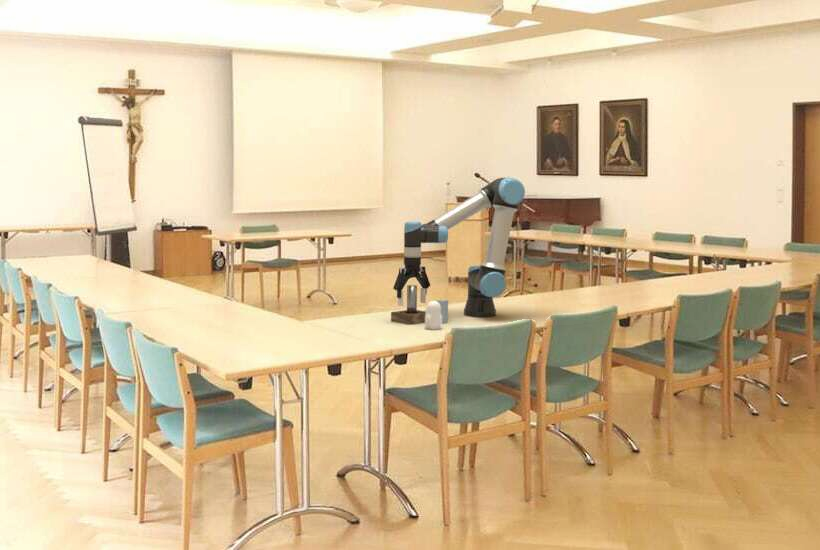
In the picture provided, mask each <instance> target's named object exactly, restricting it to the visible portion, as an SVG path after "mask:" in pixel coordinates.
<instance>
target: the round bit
mask: <svg viewBox="0 0 820 550" xmlns="http://www.w3.org/2000/svg"><path fill="white" fill-rule="evenodd" d="M417 286H418V285H414V284H408V285H407V286H406V310H407V313H411V314H413V313H417V310H418V307H417V305H418V303H417V301H418V287H417Z"/></svg>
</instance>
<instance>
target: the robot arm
mask: <svg viewBox="0 0 820 550" xmlns="http://www.w3.org/2000/svg"><path fill="white" fill-rule="evenodd" d="M525 194H526V191H525V186H524V185H523V183H522V182H521V181H520V180H518V179H517V178H514V177H499V178H497V179H494V180H492V181H491V182H490V183H488V184H486V185H485V186H483V187H482V188H479V190H478V193H476V194H473V195H472V196H471V197H469V198H468V199H466V200H464V201H462V202H461V203H459V204H457V205H455V206H454V207H453V208H451V209H449V210H448V211H446V212H444V213H442V214H440V215H439V216H437V217H435V218H433V219H432V220H430V221H428V222H426V223H423V224H422V222H421V221H411V220H409V221H406V222H405V223H404V228H403V229H404V230H403V235H404V236H403V244H404V245H403V256H404V257H403V265H404V267H402V268H401V267H399V269H398V274H397V277H396V278H395V279H396V280H395V282H394V285H393V288H392V289H393V290H394V291H396V297H397V306H401V307H402V306H403V307H404V291H403V289H404V287H405V286H406V284H407V282H408V281H409V280H410V279H413V278H415V279H416V281H418V284H419V285H420V286H421V287H420V290H419V291H420V298H419V299H420V301H419V302H420V303H422V304H426V301H427V298H426V297H427V293H428V292H427V290H428V289H429V287H431V283H430V280H429V277H428V274H427V272H426V266H422V257H421V255H422V244H444V243H447V241H448V239H449V230H450V229H452V228H453V227H455V226H457V225H459V224H460V223H462V222H464V221H466V220H467V219H469V218H470V217H472V216H474V215H476V214H478V213H479V212H481V211H482V210H484V209H486V208H492V207H493V208H494V213H493V218H492V224H491V229H490V234H489V238H488V244H487V247H486V248H487V249H486V253H485V256H484V257H485V258H484V261H483V262H482V263H480V265H472V266H471V265H470V266H469V267H468V272H467V299H466V303H465V306H464V308H463V315H465V316H469V317H475V318H476V317H478V318H485V317H489V318H490V317H494V316H497V309H496V308H495V307H496V305H495V302H494V299H493V298H495V297H496V298H497V297H499V296H500V295H502V294H503V293H504V292H505V290H506V287H507V281H506V277H505V275H506V271H507V269H506V267H505V265H504V264H505V259H506V254H507V249H508V244H509V239H510V234H511V231H512V225H513V220H514V215H515V213H516V212H517V211H518V210H519V207H520V203H521V202H522V201H523V200H524V197H525Z"/></svg>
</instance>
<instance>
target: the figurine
mask: <svg viewBox="0 0 820 550" xmlns="http://www.w3.org/2000/svg"><path fill="white" fill-rule="evenodd" d="M425 312H426V314H425V323H424V328H425V329H426V330H434V331H435V330H440V328H441V326H442V315H441V306H440V304H439V303H438V302H437V301H436V300H431V301H429V302H428V303H427V304H426V308H425Z"/></svg>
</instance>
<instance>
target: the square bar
mask: <svg viewBox="0 0 820 550" xmlns="http://www.w3.org/2000/svg"><path fill="white" fill-rule="evenodd" d="M435 301H437V302H438V303H439V304H440V306H441V315H442V324H443V325H445V324H447V323H448V322H449V300H448V299H437V300H435ZM442 324H441V325H442Z"/></svg>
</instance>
